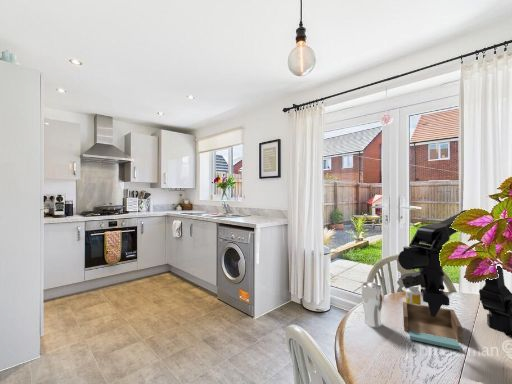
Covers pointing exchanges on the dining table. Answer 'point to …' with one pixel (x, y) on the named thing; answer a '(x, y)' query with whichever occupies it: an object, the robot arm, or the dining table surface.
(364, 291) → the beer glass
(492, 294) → the robot arm
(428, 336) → the panel
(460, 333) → the crate
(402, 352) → the dining table surface
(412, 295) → the supplement bottle
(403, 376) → the dining table surface
